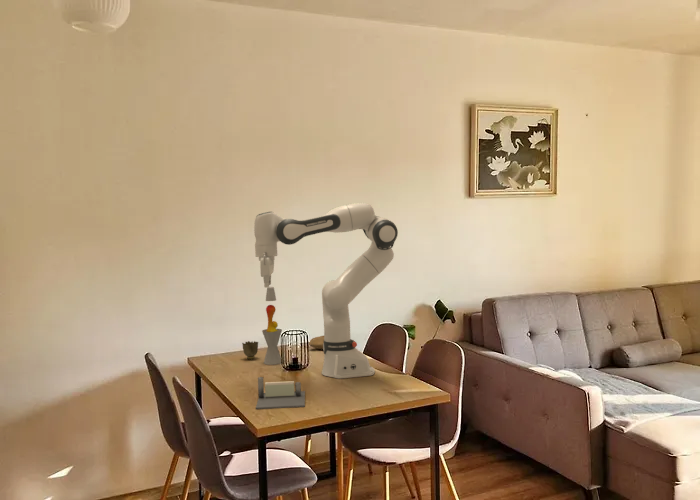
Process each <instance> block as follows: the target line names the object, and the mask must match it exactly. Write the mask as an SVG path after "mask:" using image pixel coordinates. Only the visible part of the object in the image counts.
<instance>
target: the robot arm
mask: <svg viewBox="0 0 700 500" xmlns="http://www.w3.org/2000/svg"><path fill="white" fill-rule="evenodd" d="M253 228H254V230H253V231H254V237H255V238H254V239H255V242H254V243H255V244H254V250H255V251H254V252H255V257H257V258H258V261H259V262H260V263H259V265H260V266H259V267H260V271H259V272H260V277H262V278H263V283H264V288H266V289H267V288H268V287H270V285H271V284H272V274H273V273H274V271H275V270H274V267H275V257H277V256H278V242H280V243H282V244H283V245H289V246H290V245H295V244H297V242H299V241H301V240H302V239H303V238H305V237H308V236H312V235H316V234H321V233H328V232H329V233H335V234H336V233H339V234H340V233H347V232H353V231H356V230H362V231H363V234H364V236H365V237H367V239H368V240H370V241H371V244H370V246H369V248H367V250H366V251H364V252H362V254H361V255H360V256H359V257H357V258H356V259H355V260H354V261H353V262H352V263H350V264H349V265H348V266H347V268H346V269H345V270H344V271H343V272H342V273H341V274H340V275H339V276H338V277H337V278H335V279H334V280H333V279H332V280H329V281H327V282H326V283H325V284H324V285H323V287H322V289H321V299H322V303H321V304H322V317H323V328H324V329H323V334H324V335H323V336H324V343H323V350H322V351H323V354H324V355H323V357H324V358H323V365H322V370H321V375H323V376H325V377H330V378H335V379H347V378H348V379H349V378H359V377H360V378H361V377H368V376H373V375H375V373H376V371H375V368H374V367H373V366H371V365H370V362H369V358H368V357H367V355H365V354H364V353H363V352H361V350H358V348H357V346H358V343H357V341H355V340H354V339H351V320H350V319H351V318H350V312H349V304H350V303H351V302H352V301H353V300H355V298H356V297H357V296H358V295H359V294H360V293H361V292H362V291H363V289H364V288H365V287H367V286H368V285H369V284H370V283H371V282H372V281H373V280H374V279H375V278H377V277H378V276H379V275H380V274H381V273H382V272H383V271H385V269H386V268H387V267H388V266H389V265H390V263H392V261H393V260H394V257H395V256H394V254H395V253H394V251H393V249H392V248H394V245H395V242H396V240H397V237H398V233H399V232H398V231H399V230H398V228H397V225H396V224H395V223H394V222H393V221H391V220H390V219H388V218H385V217H381V216H377V215H376V214H375V210H374V208H373V206H372V204H369V203H367V202H357V203H350V204H349V203H348V204H343V205H340V206H337V207H335V208H332V209H330V210H329V211H328V212H327V213H325V214H324V215H321V216H318V217H314V218H308V219H304V220H303V219H302V220H297V219H293V218H286V217H283V216H281V215H278V214H277V213H275V212H273V211H266V212H261V213H258V214H257V215H256V216H255V218H254V227H253Z"/></svg>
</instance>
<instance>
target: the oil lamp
mask: <svg viewBox="0 0 700 500" xmlns="http://www.w3.org/2000/svg"><path fill="white" fill-rule="evenodd" d="M323 343H324V335H320V336H315V337H312V338H311V339H310V340H309V342H308V345H309V346H310V347H312V348H314V349H319V350H321V349H323Z"/></svg>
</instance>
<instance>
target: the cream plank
mask: <svg viewBox="0 0 700 500" xmlns="http://www.w3.org/2000/svg"><path fill="white" fill-rule="evenodd" d="M294 392H295V381H294V380H292V381H291V380H290V381H270V382H267V381H266V382H264V393H265V397H271V396H292V395H295V394H294Z"/></svg>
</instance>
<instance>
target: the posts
mask: <svg viewBox="0 0 700 500" xmlns="http://www.w3.org/2000/svg"><path fill="white" fill-rule="evenodd" d="M301 386H302V383H301V381H296V382H294V392H295V393H296V397H299V396H301V391H302V387H301ZM257 389H258V390H257V391H258V392H257V394H258V396H257V397H258V398H264V393H265V382H264V376H258V377H257Z"/></svg>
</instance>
